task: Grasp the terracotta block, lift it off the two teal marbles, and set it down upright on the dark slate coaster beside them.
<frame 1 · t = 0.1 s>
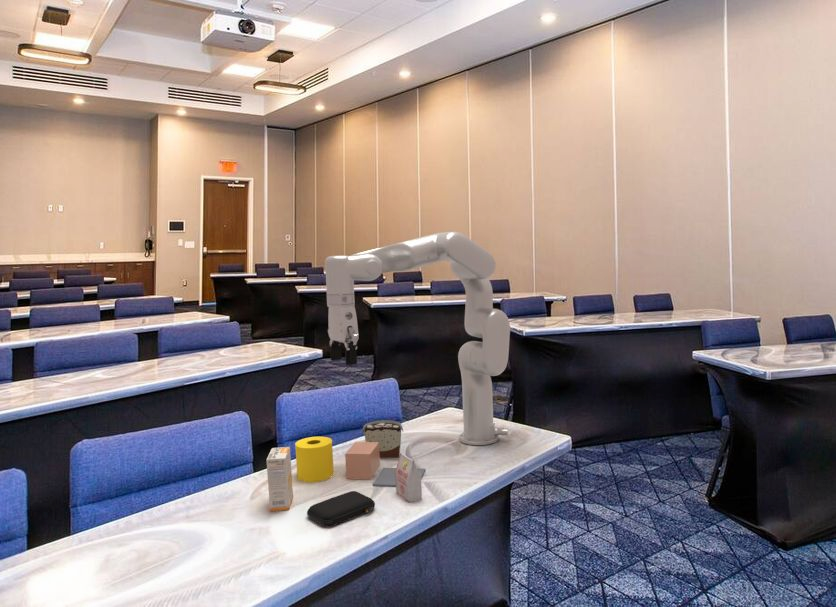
hand: (343, 362, 163), 31 cm above the table, tool pointing down, fingers open, 9 cm apart
teal marble 1: (365, 469, 166), on the table
carrying case or bag: (343, 515, 139), on the table
supplement box: (281, 504, 145), on the table
yellow toilet paper roll: (315, 476, 164), on the table
terracotta block: (363, 472, 164), on the table
tea bag: (409, 496, 147), on the table
teal marble 2: (361, 474, 162), on the table
slate coaster: (399, 477, 159), on the table
food container: (385, 455, 178), on the table
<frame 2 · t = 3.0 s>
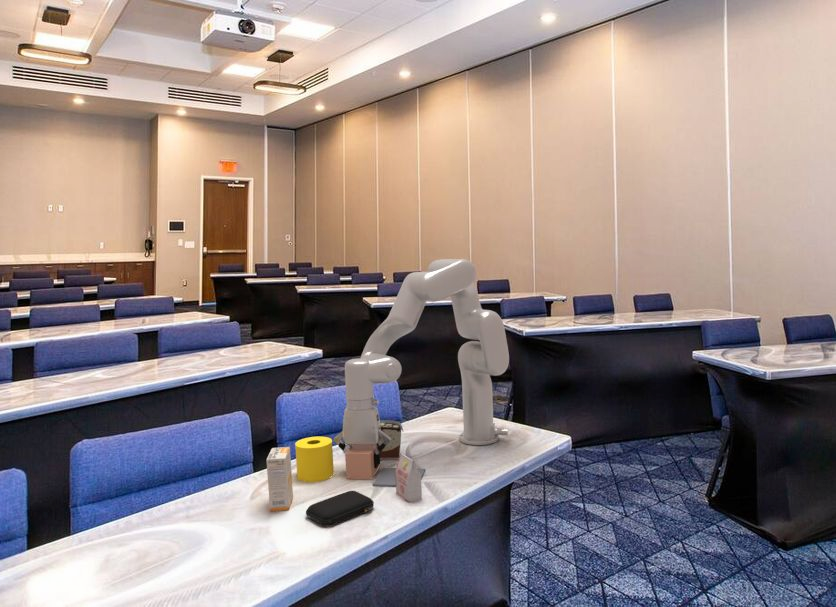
hand: (363, 465, 164), 2 cm above the table, tool pointing down, fingers closed on terracotta block, 7 cm apart
terracotta block: (363, 472, 164), on the table, touching gripper
everything else where it was.
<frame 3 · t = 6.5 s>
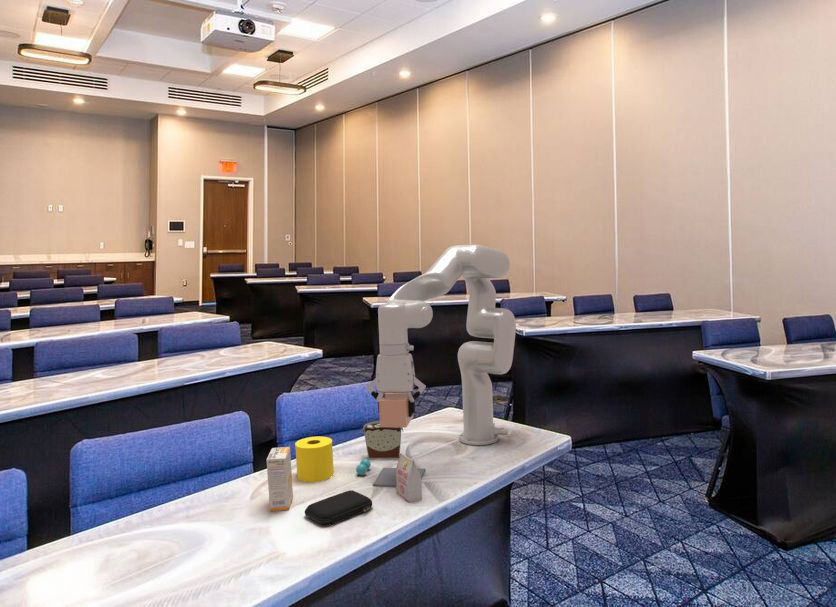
hand: (396, 415, 158), 17 cm above the table, tool pointing down, fingers closed on terracotta block, 7 cm apart
terracotta block: (397, 421, 158), point 16 cm above the table, touching gripper
everything else where it was.
when the fingers open (4 cm above the table, at t = 9.9 s): terracotta block drops 1 cm, resting on slate coaster.
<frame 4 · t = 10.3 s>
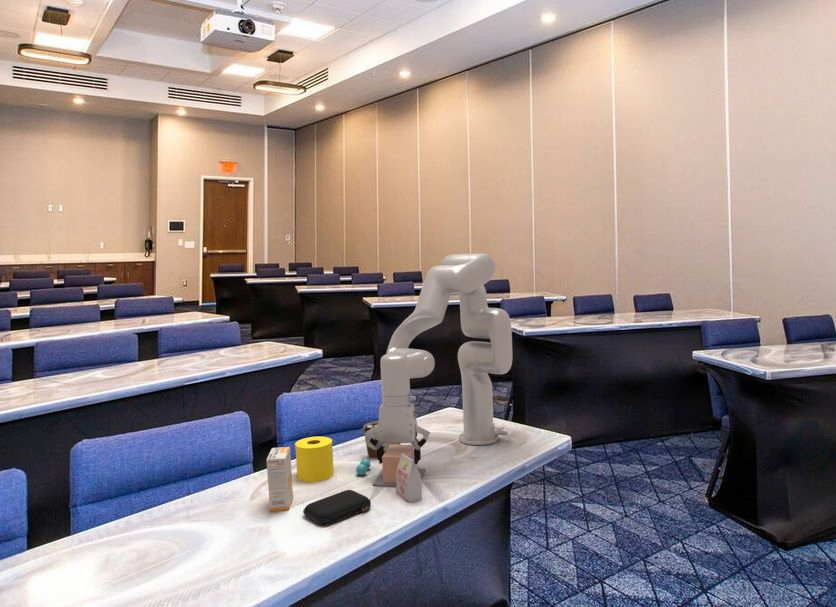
hand: (399, 462, 159), 4 cm above the table, tool pointing down, fingers open, 9 cm apart
terracotta block: (400, 476, 159), resting on slate coaster
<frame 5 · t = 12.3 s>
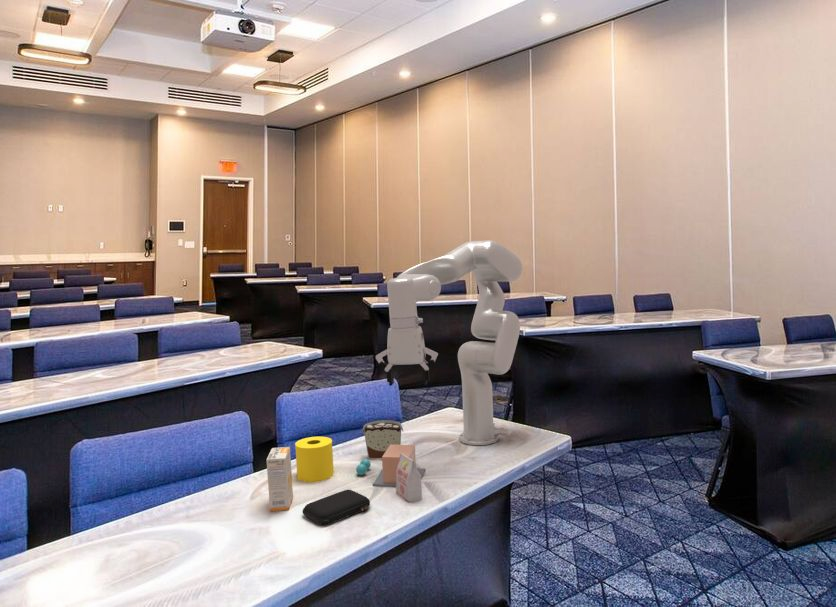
hand: (408, 384, 163), 24 cm above the table, tool pointing down, fingers open, 9 cm apart
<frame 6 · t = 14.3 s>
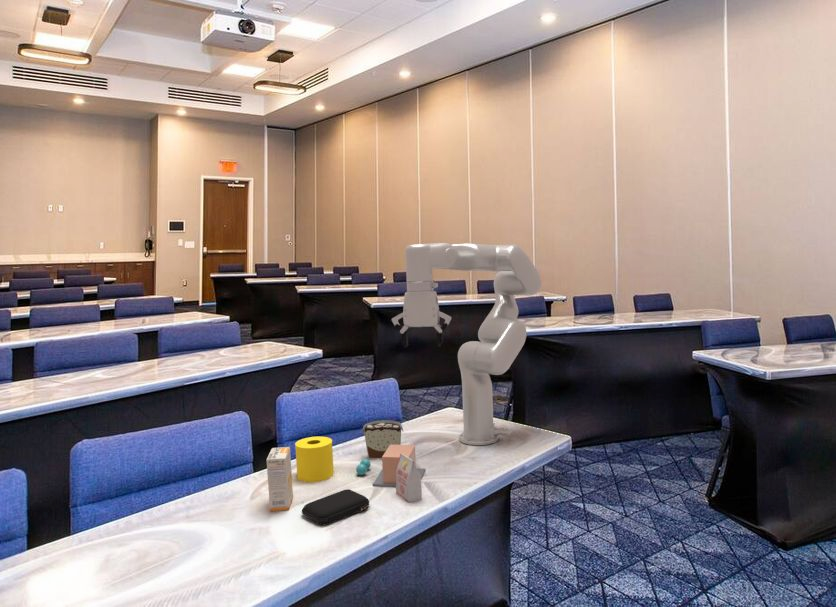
hand: (422, 346, 171), 33 cm above the table, tool pointing down, fingers open, 9 cm apart
at the end: terracotta block inside the target area on the slate coaster (0.1 cm from its centre), point 0.5 cm above the slate coaster's base; terracotta block tilted 0°; the gripper is holding nothing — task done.
